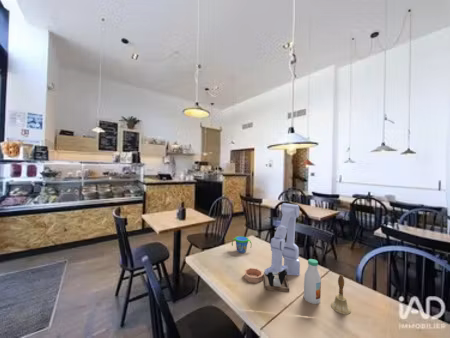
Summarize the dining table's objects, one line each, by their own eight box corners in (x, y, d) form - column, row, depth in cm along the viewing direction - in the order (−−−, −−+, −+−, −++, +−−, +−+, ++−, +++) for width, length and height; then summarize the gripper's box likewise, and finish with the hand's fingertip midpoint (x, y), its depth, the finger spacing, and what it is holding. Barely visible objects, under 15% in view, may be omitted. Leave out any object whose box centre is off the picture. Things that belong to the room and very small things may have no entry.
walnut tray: (284, 276, 122) (284, 273, 122) (289, 292, 107) (289, 288, 107) (263, 275, 124) (263, 271, 124) (265, 290, 108) (265, 286, 108)
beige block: (278, 281, 116) (278, 275, 116) (278, 284, 113) (278, 278, 113) (272, 280, 117) (272, 274, 117) (272, 283, 114) (272, 277, 114)
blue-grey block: (277, 277, 121) (277, 271, 121) (278, 280, 117) (278, 274, 117) (271, 276, 121) (271, 270, 121) (272, 279, 118) (272, 274, 118)
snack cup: (252, 249, 161) (252, 237, 161) (250, 255, 151) (250, 241, 151) (233, 247, 166) (233, 235, 166) (230, 252, 156) (230, 239, 155)
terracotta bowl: (261, 274, 124) (262, 268, 124) (263, 284, 114) (263, 278, 114) (244, 273, 126) (245, 267, 126) (244, 282, 115) (244, 276, 115)
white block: (279, 285, 112) (279, 279, 112) (280, 289, 109) (280, 282, 109) (273, 284, 113) (273, 278, 113) (273, 288, 109) (274, 282, 109)
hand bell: (349, 317, 90) (350, 282, 90) (328, 308, 96) (329, 275, 95) (352, 307, 96) (353, 274, 96) (333, 300, 102) (334, 268, 102)
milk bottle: (310, 306, 97) (311, 265, 97) (300, 296, 104) (301, 258, 104) (323, 303, 99) (325, 263, 99) (313, 294, 106) (314, 256, 106)
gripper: (282, 255, 117) (281, 278, 117) (261, 258, 111) (260, 283, 111) (291, 260, 111) (290, 285, 111) (269, 264, 105) (268, 290, 105)
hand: (276, 284), depth 111 cm, fingers open, 6 cm apart
